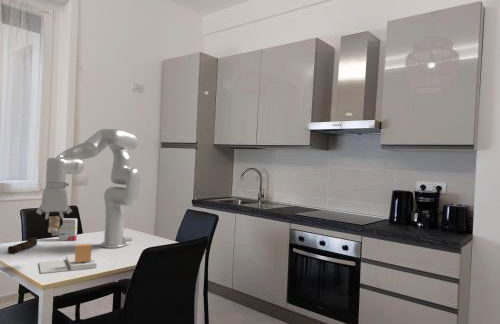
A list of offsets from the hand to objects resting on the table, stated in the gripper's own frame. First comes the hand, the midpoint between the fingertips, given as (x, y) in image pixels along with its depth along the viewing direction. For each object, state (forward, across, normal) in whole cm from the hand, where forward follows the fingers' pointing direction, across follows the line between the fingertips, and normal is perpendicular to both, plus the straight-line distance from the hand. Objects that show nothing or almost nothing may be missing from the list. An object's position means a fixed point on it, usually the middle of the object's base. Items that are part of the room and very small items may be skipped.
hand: (53, 227), depth 165 cm
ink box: (+16, -11, -47) cm, 51 cm away
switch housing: (+16, -11, +4) cm, 20 cm away
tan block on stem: (+2, 0, +4) cm, 4 cm away
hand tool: (+17, +10, -33) cm, 38 cm away
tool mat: (+16, 0, +5) cm, 17 cm away
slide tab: (+14, -11, +9) cm, 20 cm away
